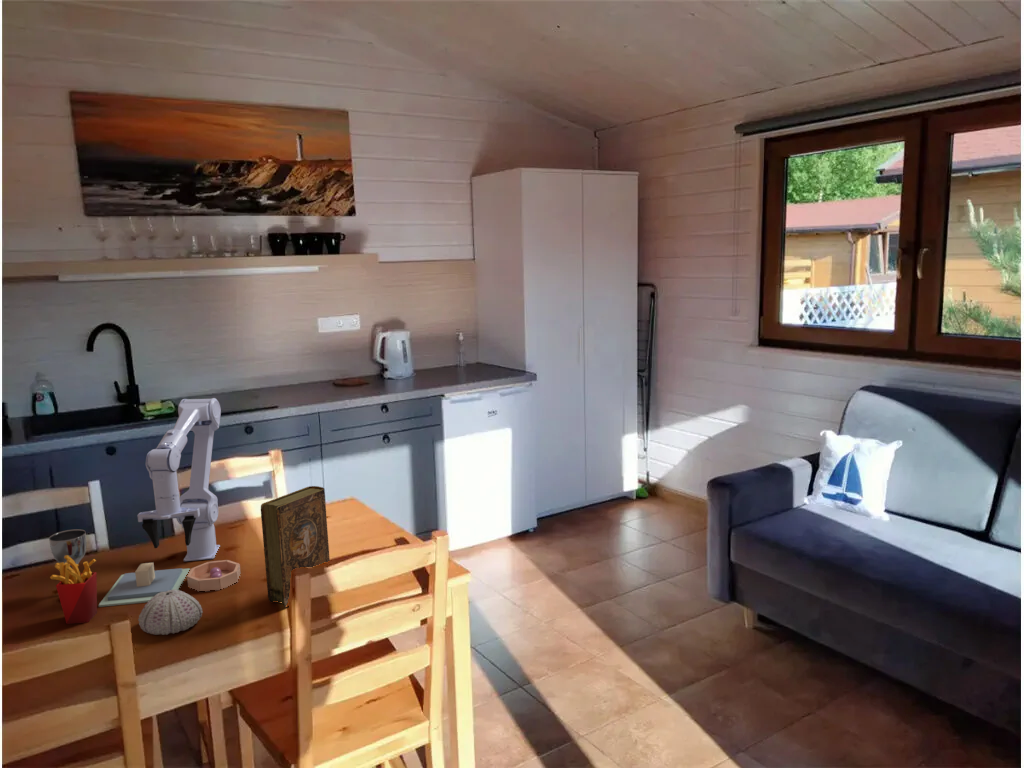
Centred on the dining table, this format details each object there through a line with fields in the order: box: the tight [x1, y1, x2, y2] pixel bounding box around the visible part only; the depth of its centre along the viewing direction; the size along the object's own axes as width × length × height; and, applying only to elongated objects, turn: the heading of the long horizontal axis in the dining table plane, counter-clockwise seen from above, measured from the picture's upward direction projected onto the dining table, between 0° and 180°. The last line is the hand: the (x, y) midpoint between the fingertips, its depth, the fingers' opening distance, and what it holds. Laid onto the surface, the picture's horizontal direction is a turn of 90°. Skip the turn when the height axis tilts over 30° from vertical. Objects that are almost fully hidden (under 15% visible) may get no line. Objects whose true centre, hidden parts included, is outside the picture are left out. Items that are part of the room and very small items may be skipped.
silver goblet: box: [48, 528, 87, 569], centre depth 195 cm, size 8×8×15 cm
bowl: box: [186, 559, 241, 592], centre depth 200 cm, size 12×12×3 cm
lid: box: [108, 562, 183, 601], centre depth 197 cm, size 14×14×5 cm
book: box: [260, 485, 331, 608], centre depth 189 cm, size 16×6×25 cm, turn 148°
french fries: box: [49, 555, 98, 625], centre depth 179 cm, size 9×8×15 cm
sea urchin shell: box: [137, 589, 204, 636], centre depth 176 cm, size 13×14×8 cm
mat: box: [97, 568, 191, 608], centre depth 197 cm, size 18×17×1 cm
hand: (172, 545), depth 200 cm, fingers open, 7 cm apart
